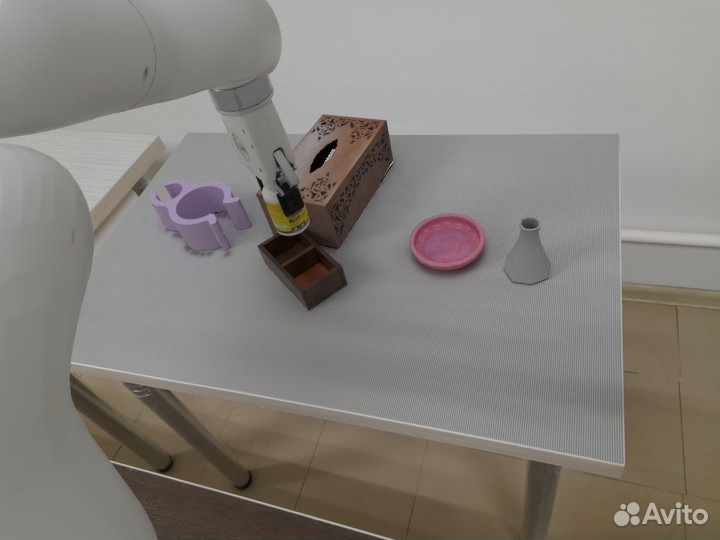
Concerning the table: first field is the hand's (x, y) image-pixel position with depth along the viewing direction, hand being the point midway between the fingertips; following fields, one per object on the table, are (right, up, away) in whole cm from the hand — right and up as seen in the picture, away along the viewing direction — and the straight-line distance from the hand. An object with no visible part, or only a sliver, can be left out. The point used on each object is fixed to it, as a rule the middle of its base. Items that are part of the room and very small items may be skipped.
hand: (283, 200), depth 76 cm
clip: (-21, -1, +31) cm, 37 cm away
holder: (+1, -11, +16) cm, 19 cm away
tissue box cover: (+6, +4, +28) cm, 29 cm away
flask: (+38, -10, +8) cm, 40 cm away
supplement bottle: (+1, -3, +4) cm, 5 cm away
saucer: (+26, -7, +13) cm, 30 cm away
